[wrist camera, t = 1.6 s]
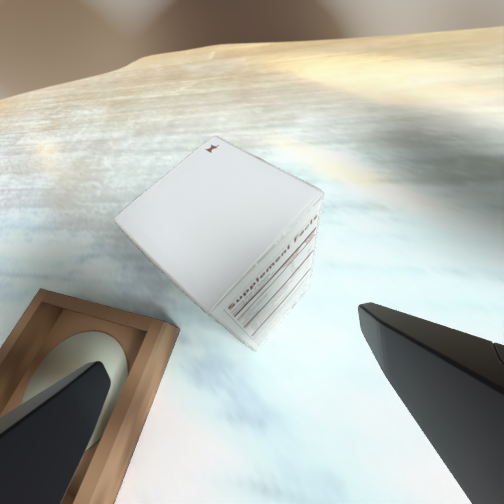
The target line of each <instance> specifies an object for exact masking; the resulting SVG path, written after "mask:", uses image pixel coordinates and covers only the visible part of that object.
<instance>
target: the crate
mask: <svg viewBox="0 0 504 504" xmlns="http://www.w3.org/2000/svg"><path fill="white" fill-rule="evenodd" d="M179 331H180V329H179V328H177V327H175V326H173V325H171V324H169V323H167V322H165V321H161V320H158V319H154V318H150V317H146V316H143V315H139V314H135V313H131V312H127V311H124V310H120V309H116V308H112V307H109V306H105V305H101V304H97V303H94V302H90V301H86V300H82V299H78V298H75V297H71V296H67V295H63V294H60V293H56V292H52V291H48V290H44V289H41V288H40V289H39V291H38V293H37V294H36V296H35V297H34V299H33V300H32V302H31V303H30V305H29V306H28V308H27V309H26V311H25V312H24V314H23V315H22V317H21V318H20V320H19V321H18V323H17V324H16V326H15V327H14V329H13V330H12V332H11V333H10V335H9V336H8V338H7V339H6V341H5V342H4V344H3V345H2V347H1V348H0V417H2V416H3V415H5V414H7V413H8V412H10V411H11V410H13V409H15V408H16V407H18V406H19V405H21V404H23V403H24V402H26V401H27V400H29V399H31V398H32V397H34V396H35V395H37V394H39V393H40V392H42V391H43V390H45V389H47V388H48V387H50V386H51V385H53V384H55V383H56V382H58V381H60V380H61V379H63V378H64V377H66V376H68V375H69V374H71V373H72V372H74V371H76V370H77V369H79V368H80V367H82V366H84V365H85V364H87V363H90V362H95V361H101V362H102V363H103V365H104V367H105V369H106V371H107V373H108V375H109V377H110V379H111V386H110V389H109V392H108V395H107V398H106V400H105V403H104V406H103V408H102V411H101V414H100V417H99V419H98V422H97V425H96V427H95V430H94V432H93V435H92V437H91V439H90V442H89V444H88V446H87V448H86V450H85V452H84V455H83V457H82V459H81V461H80V463H79V465H78V468H77V470H76V472H75V474H74V476H73V478H72V481H71V483H70V485H69V487H68V489H67V491H66V493H65V496H64V498H63V500H62V502H61V504H114V503H115V500H116V497H117V495H118V492H119V489H120V487H121V484H122V482H123V479H124V476H125V474H126V471H127V468H128V466H129V463H130V460H131V458H132V455H133V453H134V450H135V447H136V445H137V442H138V439H139V437H140V434H141V432H142V429H143V426H144V424H145V421H146V418H147V416H148V413H149V410H150V408H151V405H152V403H153V400H154V397H155V395H156V392H157V389H158V387H159V384H160V381H161V379H162V376H163V374H164V371H165V368H166V366H167V363H168V360H169V358H170V355H171V353H172V350H173V347H174V345H175V342H176V339H177V337H178V334H179Z"/></svg>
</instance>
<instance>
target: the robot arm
mask: <svg viewBox="0 0 504 504" xmlns="http://www.w3.org/2000/svg"><path fill="white" fill-rule="evenodd" d="M358 313H359V320H360V327H361V331H362V333H363V335H364V337H365V339H366V341H367V343H368V345H369V347H370V348H371V350H372V352H373V354H374V356H375V358H376V360H377V362H378V363H379V365H380V367H381V369H382V371H383V373H384V374H385V376H386V378H387V379H388V381H389V382H390V384H391V385H392V387H393V388H394V390H395V391H396V393H397V394H398V396H399V397H400V398H401V400H402V401H403V403H404V404H405V406H406V407H407V409H408V410H409V412H410V413H411V415H412V416H413V418H414V419H415V421H416V422H417V423H418V425H419V426H420V428H421V429H422V431H423V432H424V434H425V435H426V437H427V438H428V440H429V441H430V443H431V444H432V446H433V447H434V448H435V450H436V451H437V453H438V454H439V456H440V457H441V459H442V460H443V462H444V463H445V465H446V466H447V468H448V469H449V471H450V472H451V473H452V475H453V476H454V478H455V479H456V481H457V482H458V484H459V485H460V487H461V488H462V490H463V491H464V493H465V494H466V495H467V497H468V498H469V500H470V501H471V503H472V504H504V345H501V344H498V343H492V342H491V341H489V340H486V339H483V338H480V337H477V336H474V335H470V334H467V333H464V332H461V331H458V330H455V329H452V328H449V327H446V326H443V325H440V324H436V323H433V322H430V321H427V320H424V319H421V318H418V317H415V316H412V315H409V314H406V313H403V312H399V311H396V310H393V309H390V308H387V307H384V306H381V305H378V304H375V303H371V302H369V303H365V304H360V305H359V306H358ZM110 386H111V379H110V377H109V375H108V373H107V371H106V369H105V367H104V365H103V363H102V362H101V361H95V362H90V363H87V364H85V365H84V366H82V367H80V368H79V369H77V370H76V371H74V372H72V373H71V374H69V375H68V376H66V377H64V378H63V379H61V380H60V381H58V382H56V383H55V384H53V385H51V386H50V387H48V388H47V389H45V390H43V391H42V392H40V393H39V394H37V395H35V396H34V397H32V398H31V399H29V400H27V401H26V402H24V403H23V404H21V405H19V406H18V407H16V408H15V409H13V410H11V411H10V412H8V413H7V414H5V415H3V416H2V417H0V504H61V502H62V500H63V498H64V496H65V493H66V491H67V489H68V487H69V485H70V483H71V481H72V478H73V476H74V474H75V472H76V470H77V468H78V465H79V463H80V461H81V459H82V457H83V455H84V452H85V450H86V448H87V446H88V444H89V442H90V439H91V437H92V435H93V432H94V430H95V427H96V425H97V422H98V419H99V417H100V414H101V411H102V408H103V406H104V403H105V400H106V398H107V395H108V392H109V389H110Z"/></svg>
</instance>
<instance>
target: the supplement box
mask: <svg viewBox="0 0 504 504" xmlns="http://www.w3.org/2000/svg"><path fill="white" fill-rule="evenodd" d="M323 199H324V192H323V191H322V190H321V189H319V188H318V187H315V186H313V185H311V184H310V183H308V182H306V181H304V180H301V179H299V178H297V177H295V176H294V175H292V174H290V173H288V172H286V171H284V170H282V169H280V168H278V167H276V166H274V165H272V164H270V163H268V162H266V161H265V160H263V159H261V158H259V157H257V156H255V155H253V154H251V153H249V152H247V151H245V150H243V149H241V148H239V147H237V146H235V145H233V144H231V143H230V142H228V141H226V140H224V139H222V138H220V137H219V136H214V137H212V138H211V139H209V140H208V141H207V142H205V143H204V144H203V145H201V146H200V147H199V148H197V149H196V150H195V151H194V152H192V153H191V154H190V155H189V156H188V157H186V158H185V159H184V160H183V161H182V162H180V163H179V164H178V165H177V166H176V167H174V168H173V169H172V170H171V171H170V172H168V173H167V174H166V175H165V176H164V177H162V178H161V179H160V180H159V181H157V182H156V183H155V184H154V185H153V186H151V187H150V188H149V189H148V190H146V191H145V192H144V193H143V194H142V195H140V196H139V197H138V198H137V199H135V200H134V201H133V202H132V203H131V204H129V205H128V206H127V207H126V208H125V209H123V210H122V211H121V212H120V213H119V214H118V215H117V216H116V217H115V218H114V220H113V221H114V222H115V223H116V225H117V226H118V227H119V228H120V229H121V230H122V231H123V232H124V233H125V234H126V235H127V237H128V238H129V239H130V240H131V241H132V242H133V243H134V244H135V245H136V246H137V247H138V248H139V249H140V250H141V251H142V252H143V253H144V254H145V255H146V256H147V257H148V258H149V259H150V260H151V261H152V263H153V264H154V265H156V266H157V267H158V268H159V269H160V270H161V271H162V272H163V273H164V274H165V275H166V276H167V277H168V278H169V279H170V280H171V281H172V282H173V283H174V284H175V285H176V286H177V287H178V288H179V289H180V290H181V291H182V292H183V293H185V294H186V295H187V296H188V297H189V298H190V299H191V300H192V301H193V302H194V303H195V304H197V305H198V306H199V307H200V308H201V309H202V310H203V311H205V312H206V313H207V314H208V315H210V316H211V317H212V318H213V319H215V320H216V321H217V322H218V323H220V324H221V325H222V326H223V327H225V328H226V329H227V330H228V331H229V332H231V333H232V334H233V335H234V336H235V337H236V338H238V339H239V340H240V341H242V342H243V343H244V344H245V345H247V346H248V347H250V348H251V349H252V350H253V351H255V352H257V351H258V350H259V348H260V347H261V346H262V344H263V343H264V342H265V341H266V340H267V338H268V337H269V336H270V335H271V333H272V332H273V331H274V330H275V329H276V327H277V326H278V325H279V324H280V323H281V321H282V320H283V319H284V318H285V316H286V315H287V314H288V313H289V312H290V310H291V309H292V308H293V307H294V306H295V304H296V303H297V302H298V301H299V300H300V298H301V297H302V296H303V295H304V293H305V292H306V291H307V290H308V289H309V287H310V281H311V276H312V269H313V262H314V255H315V248H316V241H317V233H318V227H319V220H320V213H321V208H322V203H323Z"/></svg>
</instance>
